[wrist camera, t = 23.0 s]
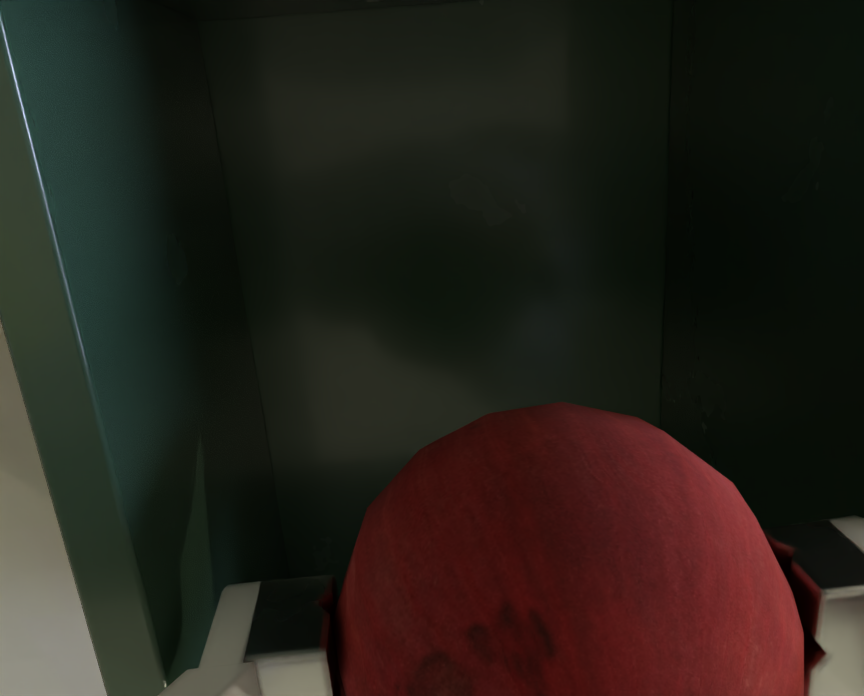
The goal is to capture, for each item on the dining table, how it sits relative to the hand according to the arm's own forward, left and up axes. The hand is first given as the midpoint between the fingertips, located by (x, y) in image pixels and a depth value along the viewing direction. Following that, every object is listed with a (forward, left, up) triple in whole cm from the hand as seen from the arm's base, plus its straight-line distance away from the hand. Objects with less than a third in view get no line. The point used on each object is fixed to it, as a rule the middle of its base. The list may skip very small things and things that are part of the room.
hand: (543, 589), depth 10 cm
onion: (0, 0, -3) cm, 3 cm away
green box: (0, -1, -9) cm, 9 cm away
